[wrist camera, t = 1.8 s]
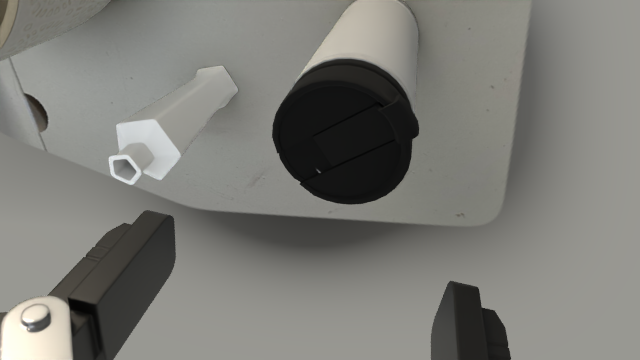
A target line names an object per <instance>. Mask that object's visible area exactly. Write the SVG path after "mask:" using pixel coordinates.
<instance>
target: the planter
mask: <svg viewBox="0 0 640 360" xmlns="http://www.w3.org/2000/svg"><path fill="white" fill-rule="evenodd" d="M110 1H111V0H0V61H2V60H4V59H6V58H9V57H11V56H13V55H16V54H18V53H20V52H22V51H25V50H27V49H29V48H31V47H34V46H36V45H38V44H41V43H43V42H46V41H48V40H50V39H52V38H54V37H57V36H59V35H61V34H63V33H65V32H67V31H69V30H71V29H73V28H75V27H77V26H79V25H81V24H82V23H84V22H85V21H87V20H88V19H90V18H91V17H93V16H94V15H95V14H97V13H98V12H100V11H101V10H102V9H103V8H104V7H105V6H106V5H107V4H108V3H109V2H110Z"/></svg>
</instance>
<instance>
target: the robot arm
mask: <svg viewBox="0 0 640 360" xmlns="http://www.w3.org/2000/svg"><path fill="white" fill-rule="evenodd" d="M175 255H176V253H175V230H174V218H173V217H172V216H170V215H167V214H162V213H158V212H153V211H149V210H146V211H144V212H143V213H142V214H141V215H140V216H139V217H138V218H137V219H136V221H135V222H134V223H133V224H132V225H130V224H126V223H124V224H122V225H120V226H118V227H116V228H114V229H112V230H111V231H109V232H107V233H106V234H105V235H104V236H103V237H102V239H101V240H100V241H99V242H98V243H97V244H96V246H95V247H93V248H92V249H91V250H90V251H89V252H88V253H87V254H86V257H83V258H82V260H81V261H80V262H79V263H78V264H77V265H76V266H75V267H74V268H73V269H72V270H71V271H70V272H69V273H68V274H67V275H66V276H65V277H64V279H63V280H62V281H61V282H60V283H59V284H58V285H57V286H56V287H55V288H54V289H53V290H52V291H51V292H50V293H49V294H48V295H47V296H38V297H34V298H30V299H28V300H25V301H23V302H21V303H19V304H18V305H16V306H15V307H13V308H12V309H11V310H10V311H9V312H4V313H0V360H113V359H114V358H115V356H116V355H117V353H118V352H119V350H120V349H121V347H122V346H123V344H124V343H125V341H126V340H127V338H128V337H129V335H130V334H131V332H132V331H133V329H134V328H135V326H136V325H137V324H138V322H139V320H140V319H141V318H142V316H143V315H144V313H145V312H146V310H147V309H148V307H149V306H150V304H151V303H152V301H153V300H154V298H155V297H156V295H157V294H158V292H159V291H160V289H161V288H162V286H163V285H164V283H165V282H166V280H167V279H168V277H169V276H170V274H171V272H172V270H173V267H174V263H175V257H176V256H175ZM510 359H511V357H510V351H509V348H508V341H507V335H506V330H505V327H504V325H503V323H502V322H501V320H500V319H499V317H498V315H497V314H496V312H495V311H494V310H490V309H485V308H482V307H481V300H480V293H479V289H478V287H475V286H471V285H467V284H462V283H458V282H454V281H450V282H449V283H448V285H447V287H446V290H445V292H444V295H443V298H442V300H441V303H440V305H439V308H438V311H437V313H436V316H435V319H434V322H433V327H432V333H431V360H510Z"/></svg>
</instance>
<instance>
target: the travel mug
mask: <svg viewBox="0 0 640 360" xmlns="http://www.w3.org/2000/svg"><path fill="white" fill-rule="evenodd" d="M418 34H419V30H418V24H417V21H416V18H415V16H414V14H413V12H412V11H411V9H410V8H409V6H408V5H406V4H405V3H404V2H403V1H402V0H355V1H354V2H353V3H351V4H350V5H349V6H348V8H347V9H346V10H345V11H344V13H343V14H342V15H341V17H340V18H339V20H338V21H337V23H336V24H335V25H334V27H333V28H332V30H331V31H330V33H329V34H328V35H327V37H326V38H325V40H324V41H323V43H322V44H321V45H320V47H319V48H318V50H317V51H316V53H315V54H314V55H313V57H312V58H311V60H310V61H309V63H308V64H307V65H306V67H305V68H304V70H303V71H302V72H301V74H300V75H299V77H298V79H297V80H296V81H295V82H294V84H293V86H292V88H291V90H290V92H289V93H288V95H287V96H286V98H285V99H284V100H283V102H282V103H281V105H280V107H279V109H278V111H277V113H276V115H275V119H274V123H273V132H272V138H273V141H274V144H275V147H276V150H277V153H279V156H280V159H281V161H282V163H283V164H284V166H285V168H286V169H287V170H288V172H289V173H290V174H291V175H292V176H293V177H294V178H295V179H296V180H298V181H300V182H301V183H300V185H301V186H303V187H304V188H305V189H306V190H308V191H309V192H310V193H312V194H313V195H314V196H317V197H319V198H321V199H324V200H327V201H331V202H335V203H340V204H363V203H367V202H371V201H375V200H377V199H379V198H381V197H383V196H386V195H387V194H388V193H390V192H391V191H392V190H394V189H395V188H396V187H397V186H398V184H399V183H400V182H401V181H402V180H403V178H404V176H405V174H406V172H407V171H408V168H409V164H410V160H411V153H412V139H413V138H415V137H417V136H418V134H419V125H418V120H417V118H416V117H415V100H416V79H417V58H418Z"/></svg>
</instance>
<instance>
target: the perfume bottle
mask: <svg viewBox="0 0 640 360" xmlns="http://www.w3.org/2000/svg"><path fill="white" fill-rule="evenodd" d="M237 92H238V88H237V86H236V85H235V83H234V82H233V80H232V79H231V77H230V75H229V74H228V72H227V71H226V69H225V68H224V67H223V66H215V67H209V68H202V69H198V71H197V73H196V75H195V78H194V79H193V80H191V81H190V82H188V83H186V84H184V85H183V86H181V87H179V88H178V89H176V90H174V91H173V92H171V93H169V94H167V95H166V96H164V97H162V98H161V99H159V100H157V101H156V102H154V103H152V104H150V105H149V106H147V107H145V108H144V109H142V110H140V111H139V112H137V113H135V114H134V115H132V116H130V117H128V118H127V119H125V120H123V121H122V122H120V123H118V124H117V125H116V129H117V136H118V143H119V150H120V152H119V153H118V154H116V155H115V156H110V157H109V165H110V171H111V175H112V176H113V177H114V178H116V179H118V180H121V181H123V182H125V183H127V184H129V185H133V184H134V183H135V182H136V181H137V179H138V178H139V177H140V176H141V174H142V173H144V174H147V175H149V176H151V177H153V178H155V179H157V180H161V179H163V177H164V176H165V175H166V174H167V173H168V172H169V170H170V169H171V168H172V167H173V166H174V165H175V163H176V162H177V161H178V160H179V159H180V158H181V156H182V155H183V154H184V152H185V151H186V150H187V148H188V147H189V146H190V145H191V143H192V142H193V141H194V139H195V138H196V137H197V136H198V134H199V133H200V132H201V130H202V129H203V128H204V126H205V125H206V124H207V123H208V121H209V120H210V119H211V117H212V116H213V115H214V113H215V112H216V111H217V110H218V109H220V108H223V107H225V106H226V105H227V103H228V102H229V101H230V100H231V99H232V98H233V96H234V95H235V94H236V93H237Z"/></svg>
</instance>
